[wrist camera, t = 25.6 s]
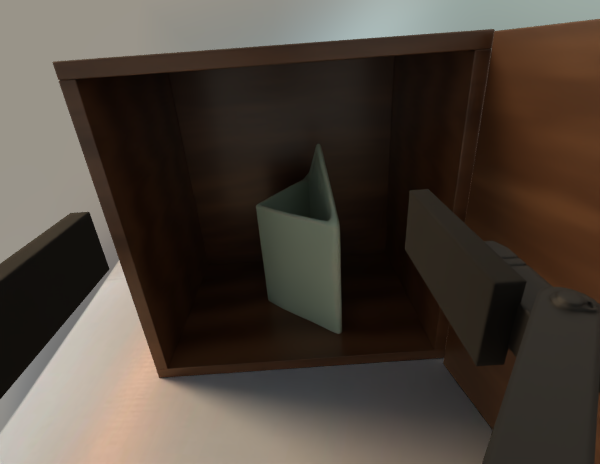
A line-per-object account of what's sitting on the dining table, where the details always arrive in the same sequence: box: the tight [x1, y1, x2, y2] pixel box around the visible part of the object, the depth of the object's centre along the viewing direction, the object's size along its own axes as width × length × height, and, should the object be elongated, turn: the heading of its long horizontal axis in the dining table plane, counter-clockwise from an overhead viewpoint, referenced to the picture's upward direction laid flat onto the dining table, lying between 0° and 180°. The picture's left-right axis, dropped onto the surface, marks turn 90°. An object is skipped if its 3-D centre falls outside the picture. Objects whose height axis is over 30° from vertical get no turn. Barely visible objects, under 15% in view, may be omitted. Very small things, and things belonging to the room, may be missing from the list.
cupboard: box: [53, 29, 495, 378], centre depth 41 cm, size 22×30×30 cm
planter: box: [256, 144, 342, 334], centre depth 43 cm, size 16×8×20 cm, turn 9°
